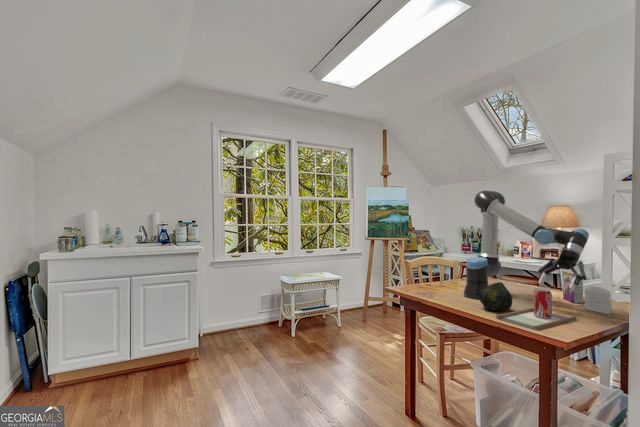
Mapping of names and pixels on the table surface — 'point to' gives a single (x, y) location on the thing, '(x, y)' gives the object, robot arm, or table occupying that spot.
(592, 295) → the photo printer
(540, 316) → the soda can
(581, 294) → the candy bar box
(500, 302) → the squash
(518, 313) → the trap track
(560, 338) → the table surface
